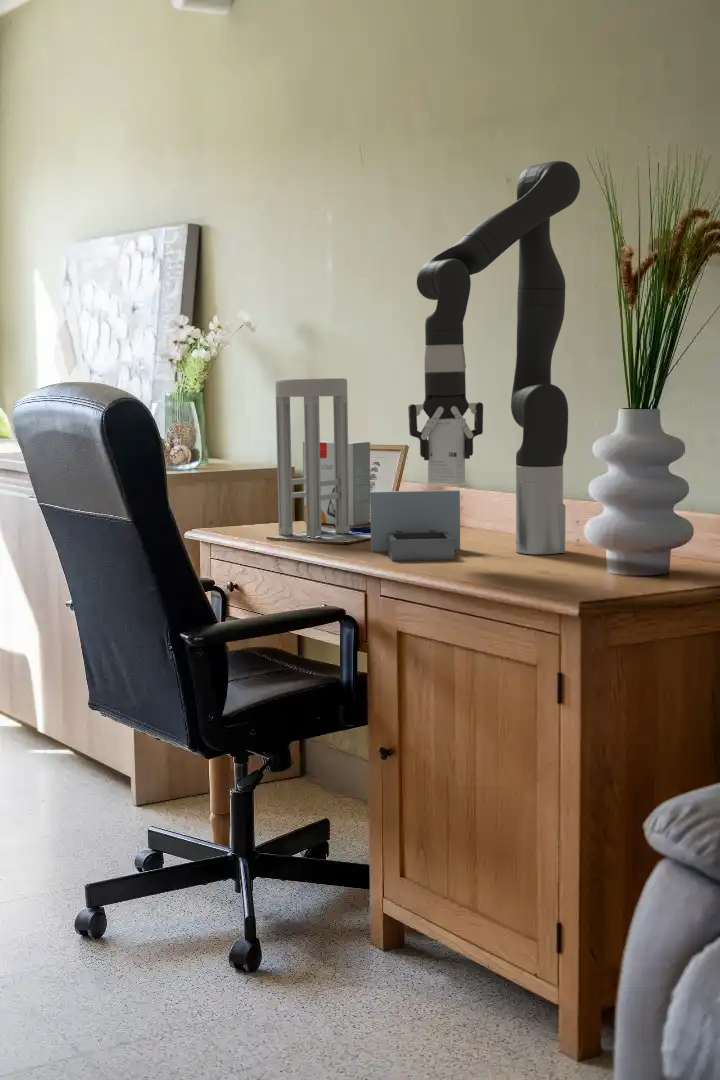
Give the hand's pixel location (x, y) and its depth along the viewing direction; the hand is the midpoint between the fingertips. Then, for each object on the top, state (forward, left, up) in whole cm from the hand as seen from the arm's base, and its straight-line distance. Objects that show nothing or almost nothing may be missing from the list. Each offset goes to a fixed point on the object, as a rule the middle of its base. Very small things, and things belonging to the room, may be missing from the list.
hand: (446, 459), depth 243 cm
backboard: (+4, -19, -20) cm, 28 cm away
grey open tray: (+4, -11, -20) cm, 23 cm away
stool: (+24, -51, -20) cm, 60 cm away
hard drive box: (+18, -73, -20) cm, 78 cm away
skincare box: (0, 0, -5) cm, 5 cm away
